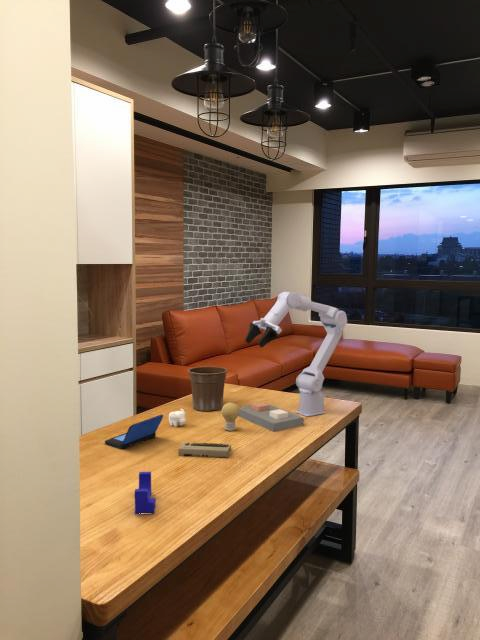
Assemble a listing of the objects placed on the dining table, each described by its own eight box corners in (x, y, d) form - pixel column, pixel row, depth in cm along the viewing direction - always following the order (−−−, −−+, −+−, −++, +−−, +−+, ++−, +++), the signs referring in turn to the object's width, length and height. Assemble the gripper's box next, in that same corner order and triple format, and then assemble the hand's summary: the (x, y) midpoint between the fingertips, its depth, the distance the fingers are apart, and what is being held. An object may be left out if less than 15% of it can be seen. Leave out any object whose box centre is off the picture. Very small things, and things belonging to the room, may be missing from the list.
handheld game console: (137, 432, 190) (137, 407, 189) (165, 440, 182) (164, 413, 181) (103, 444, 177) (102, 417, 176) (131, 453, 170) (130, 425, 169)
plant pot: (193, 401, 231) (193, 365, 229) (229, 403, 229) (230, 366, 227) (184, 412, 215) (183, 373, 213) (223, 414, 213) (223, 374, 211)
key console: (265, 410, 219) (265, 402, 218) (303, 425, 199) (303, 417, 198) (236, 415, 211) (236, 408, 211) (273, 431, 191) (273, 423, 191)
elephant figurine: (178, 430, 192) (178, 414, 192) (162, 425, 197) (162, 410, 197) (190, 425, 198) (190, 409, 197) (175, 421, 203) (175, 406, 202)
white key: (279, 416, 203) (280, 409, 203) (288, 420, 199) (288, 412, 199) (269, 418, 200) (269, 411, 200) (277, 422, 196) (277, 414, 196)
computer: (231, 450, 173) (231, 440, 173) (228, 459, 165) (228, 449, 165) (183, 448, 175) (183, 438, 174) (178, 457, 167) (178, 447, 166)
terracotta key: (261, 409, 213) (261, 402, 213) (268, 412, 209) (269, 404, 209) (251, 411, 210) (251, 403, 210) (258, 414, 206) (258, 406, 206)
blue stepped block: (154, 514, 129) (153, 490, 128) (135, 515, 128) (134, 491, 128) (157, 493, 140) (156, 471, 140) (139, 493, 140) (139, 471, 139)
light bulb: (239, 427, 196) (240, 400, 194) (238, 433, 189) (238, 405, 188) (222, 426, 196) (222, 400, 195) (220, 432, 190) (220, 405, 189)
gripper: (257, 306, 203) (235, 333, 199) (282, 312, 192) (260, 340, 188) (266, 319, 207) (245, 345, 203) (291, 325, 196) (270, 352, 191)
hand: (253, 343), depth 195 cm, fingers open, 7 cm apart
